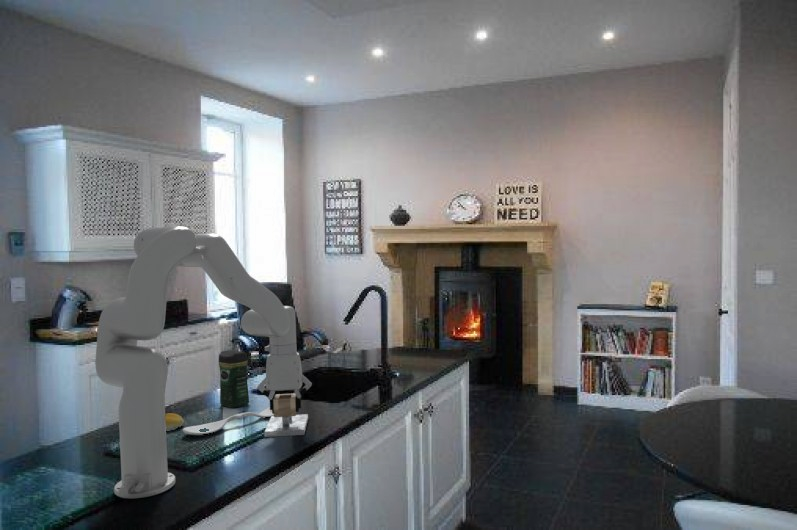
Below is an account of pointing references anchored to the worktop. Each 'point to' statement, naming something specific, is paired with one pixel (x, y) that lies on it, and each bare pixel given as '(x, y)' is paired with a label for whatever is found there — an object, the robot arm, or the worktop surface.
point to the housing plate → (287, 431)
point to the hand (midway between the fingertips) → (285, 411)
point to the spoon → (223, 422)
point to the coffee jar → (233, 378)
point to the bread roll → (173, 420)
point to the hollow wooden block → (284, 405)
